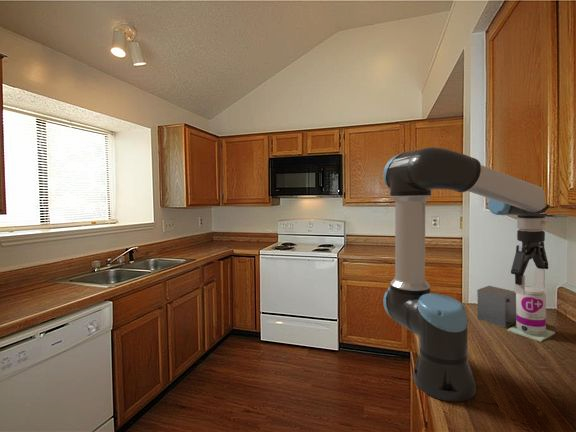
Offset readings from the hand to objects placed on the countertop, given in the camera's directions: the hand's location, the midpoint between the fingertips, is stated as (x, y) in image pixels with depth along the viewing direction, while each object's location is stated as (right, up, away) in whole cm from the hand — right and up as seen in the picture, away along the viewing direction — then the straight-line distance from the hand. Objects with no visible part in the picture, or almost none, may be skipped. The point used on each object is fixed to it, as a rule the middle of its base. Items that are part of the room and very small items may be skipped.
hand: (529, 290), depth 108 cm
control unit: (-4, -15, +12) cm, 19 cm away
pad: (+1, -15, +1) cm, 15 cm away
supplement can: (+1, -15, +1) cm, 15 cm away
